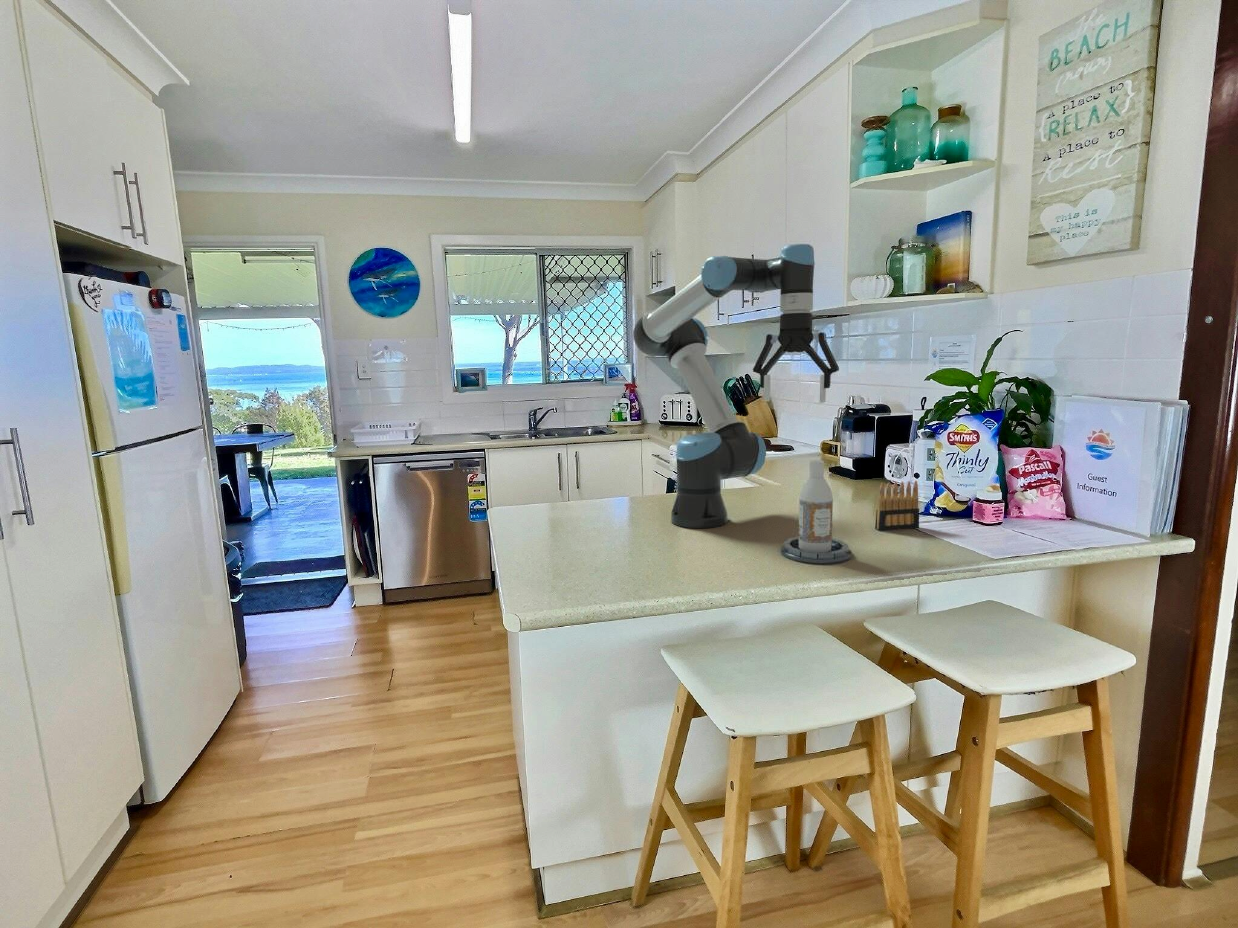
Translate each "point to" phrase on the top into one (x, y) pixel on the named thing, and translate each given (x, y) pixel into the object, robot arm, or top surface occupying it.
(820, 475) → the bath foam
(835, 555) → the ring tray
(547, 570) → the top surface
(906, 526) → the ammunition clip
